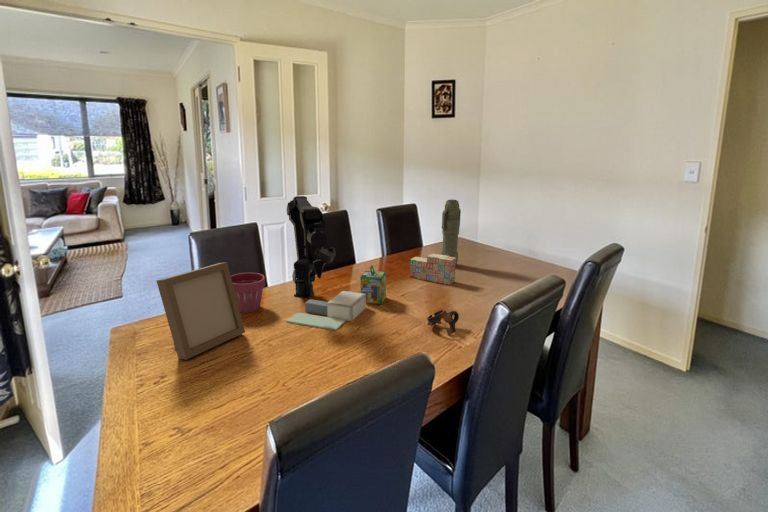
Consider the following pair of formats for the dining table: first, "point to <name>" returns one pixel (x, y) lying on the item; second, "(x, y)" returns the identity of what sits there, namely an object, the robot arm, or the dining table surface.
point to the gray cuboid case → (346, 305)
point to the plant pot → (248, 290)
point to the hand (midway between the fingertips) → (313, 281)
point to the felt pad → (316, 321)
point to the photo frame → (201, 309)
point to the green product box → (374, 286)
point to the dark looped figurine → (446, 317)
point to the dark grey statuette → (451, 228)
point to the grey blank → (316, 306)
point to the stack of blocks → (434, 268)
